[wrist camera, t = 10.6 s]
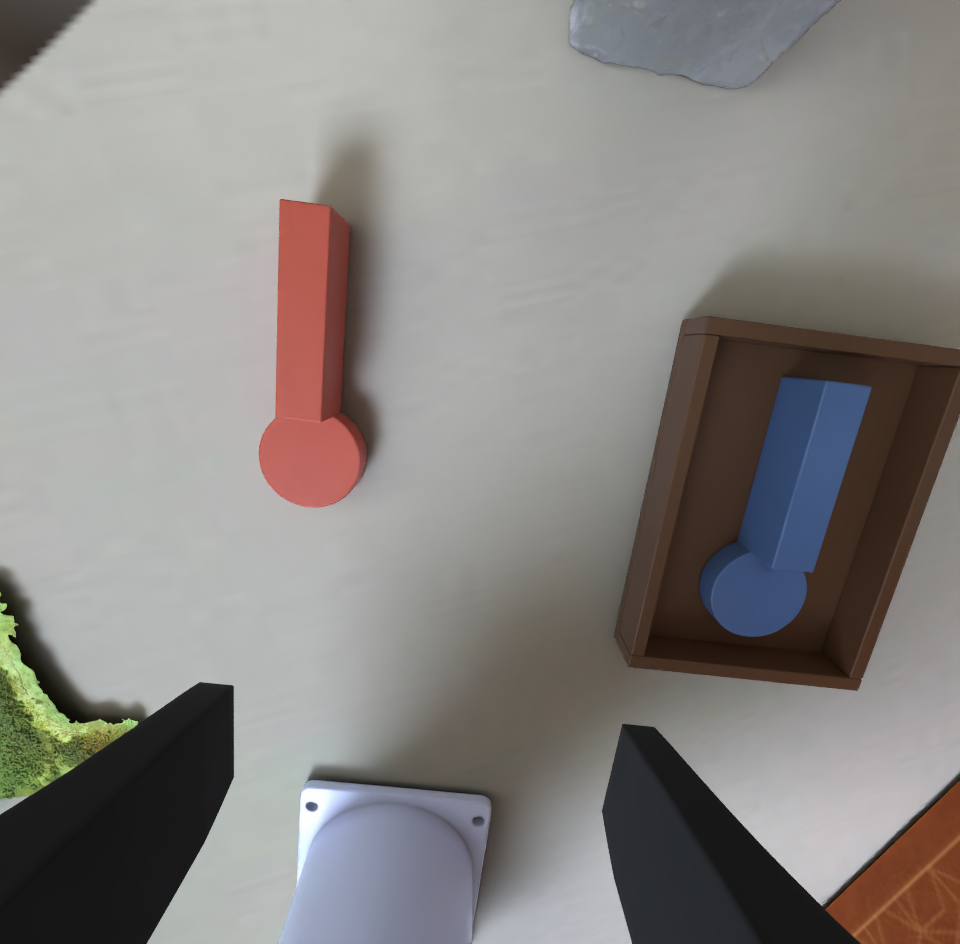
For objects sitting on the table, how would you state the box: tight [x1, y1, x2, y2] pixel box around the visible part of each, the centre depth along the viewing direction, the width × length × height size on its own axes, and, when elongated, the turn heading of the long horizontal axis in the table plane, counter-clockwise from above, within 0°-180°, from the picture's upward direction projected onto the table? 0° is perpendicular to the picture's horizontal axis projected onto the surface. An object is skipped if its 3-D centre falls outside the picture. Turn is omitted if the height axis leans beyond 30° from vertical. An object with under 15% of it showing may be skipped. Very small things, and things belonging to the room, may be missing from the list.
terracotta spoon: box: [259, 199, 367, 507], centre depth 15 cm, size 9×3×2 cm, turn 173°
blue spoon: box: [699, 376, 872, 637], centre depth 16 cm, size 9×3×2 cm, turn 173°
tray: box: [614, 316, 960, 691], centre depth 17 cm, size 12×8×2 cm
